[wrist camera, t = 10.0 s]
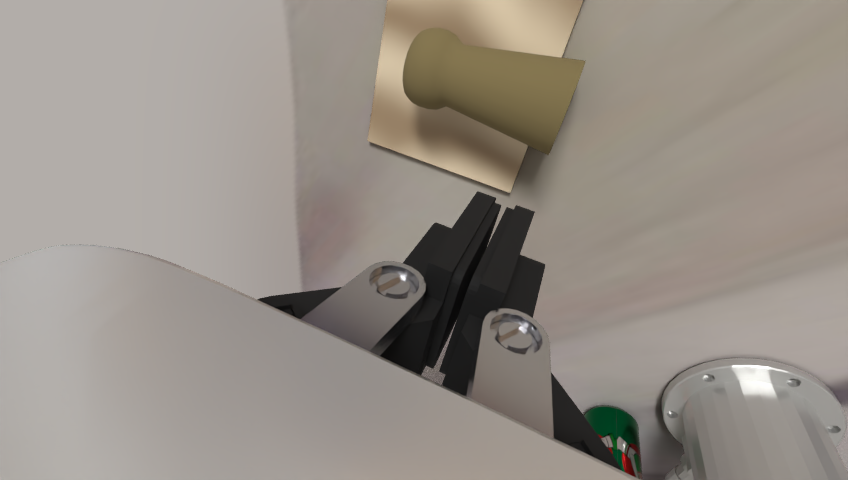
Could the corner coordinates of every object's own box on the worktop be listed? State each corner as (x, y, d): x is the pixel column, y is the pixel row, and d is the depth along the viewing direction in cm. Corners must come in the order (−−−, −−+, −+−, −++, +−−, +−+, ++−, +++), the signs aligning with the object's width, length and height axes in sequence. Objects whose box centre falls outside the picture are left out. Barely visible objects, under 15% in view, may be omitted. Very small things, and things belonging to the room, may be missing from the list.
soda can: (579, 427, 44) (572, 548, 35) (589, 395, 42) (584, 517, 32) (630, 442, 43) (638, 574, 33) (644, 411, 40) (656, 543, 30)
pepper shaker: (540, 173, 28) (393, 124, 30) (562, 114, 31) (426, 73, 33) (570, 103, 23) (389, 49, 25) (593, 40, 26) (428, -4, 27)
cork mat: (511, 190, 34) (510, 193, 34) (370, 139, 36) (367, 141, 36) (614, -81, 24) (614, -83, 23) (408, -128, 26) (405, -130, 26)
